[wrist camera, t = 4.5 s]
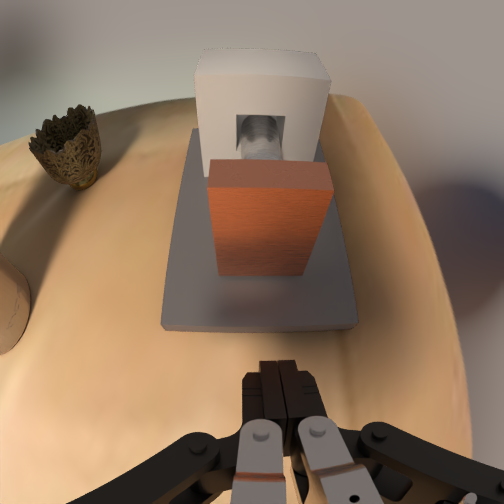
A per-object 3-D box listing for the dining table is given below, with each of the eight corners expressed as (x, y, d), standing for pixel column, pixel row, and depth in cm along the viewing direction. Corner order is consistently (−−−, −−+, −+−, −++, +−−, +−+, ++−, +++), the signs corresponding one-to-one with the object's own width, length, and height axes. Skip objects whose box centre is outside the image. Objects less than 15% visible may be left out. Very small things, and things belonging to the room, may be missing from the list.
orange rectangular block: (218, 275, 21) (207, 187, 13) (224, 165, 27) (221, 80, 19) (302, 275, 21) (334, 190, 14) (288, 166, 27) (301, 83, 20)
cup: (112, 150, 31) (94, 96, 24) (117, 191, 28) (93, 129, 21) (59, 172, 30) (34, 122, 23) (56, 215, 26) (22, 161, 19)
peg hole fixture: (165, 330, 21) (99, 241, 11) (193, 138, 32) (184, 44, 22) (351, 328, 21) (436, 243, 11) (314, 141, 33) (333, 49, 22)
